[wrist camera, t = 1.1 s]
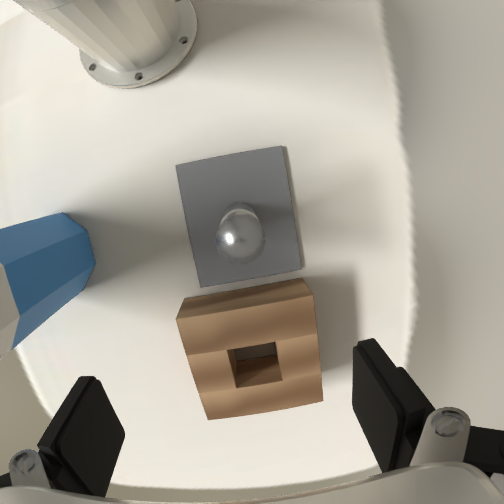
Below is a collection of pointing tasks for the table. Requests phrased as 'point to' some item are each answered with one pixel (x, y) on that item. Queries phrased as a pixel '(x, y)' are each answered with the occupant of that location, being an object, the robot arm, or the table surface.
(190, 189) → the mat
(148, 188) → the table surface
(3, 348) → the water bottle
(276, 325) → the socket block
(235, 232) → the peg
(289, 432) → the table surface
